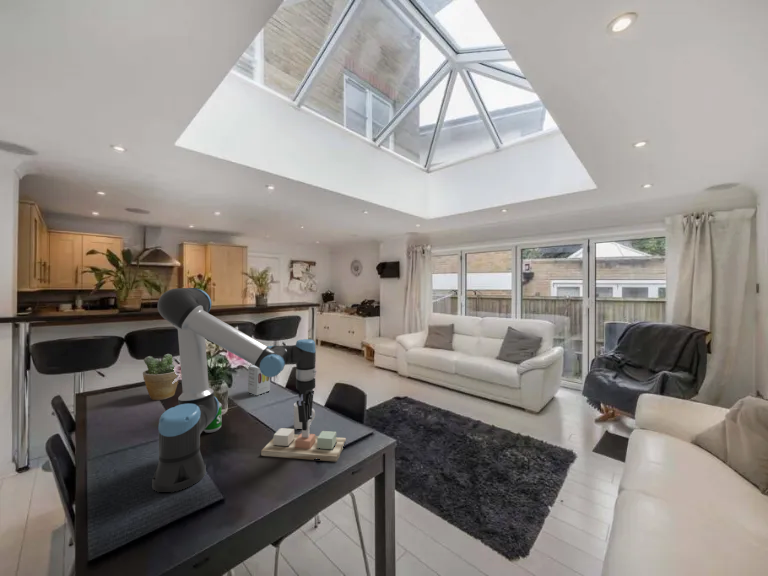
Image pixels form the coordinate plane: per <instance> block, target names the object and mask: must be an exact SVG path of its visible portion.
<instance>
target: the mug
mask: <svg viewBox="0 0 768 576" xmlns="http://www.w3.org/2000/svg"><path fill="white" fill-rule="evenodd" d="M310 417H312V419H309V420H310V425H311V426H312V422H313V421H314V419H315V417H316V411H315V408H313V407H312V415H311V416H310ZM295 428H296V429H295ZM293 429H295V430H297V429H302V422H299V414H298V406H297V401H296V402H294V403H293Z"/></svg>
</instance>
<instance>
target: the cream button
mask: <svg viewBox="0 0 768 576" xmlns="http://www.w3.org/2000/svg"><path fill="white" fill-rule="evenodd" d="M294 434H295V428H288V427H287V428H285V427H283V428H282V427H280V428H278V430H277V431H275V433H274V434H273V438H274V445H278V446H280V447H289V446H290V445H291V442H292V441H293V439H294Z"/></svg>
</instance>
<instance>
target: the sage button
mask: <svg viewBox="0 0 768 576" xmlns="http://www.w3.org/2000/svg"><path fill="white" fill-rule="evenodd" d="M317 436H318V438H317V448H320V450H333V449H334V445H335V443H336V437H337V431H329V430H327V431H326V430H322V431H321V432H320V433H319V435H317Z"/></svg>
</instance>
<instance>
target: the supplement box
mask: <svg viewBox="0 0 768 576" xmlns="http://www.w3.org/2000/svg"><path fill="white" fill-rule="evenodd" d="M249 366H250V367H247V368H248V370H247V374H248V375H247V393H248V392H250V393H253V394H256V395H258V394H261V393H263V392H266V391H269V390H270V391H271V377H267V376H264V375H263V374H262V373H261V371H260V368H258V367H256V366H255V365H253V364H251V365H249Z"/></svg>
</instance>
